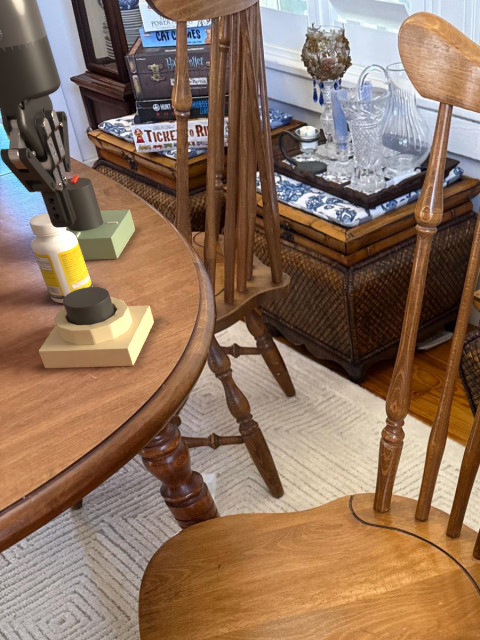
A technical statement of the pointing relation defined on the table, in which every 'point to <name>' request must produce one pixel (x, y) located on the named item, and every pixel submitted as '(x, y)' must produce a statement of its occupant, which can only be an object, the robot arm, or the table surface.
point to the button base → (98, 339)
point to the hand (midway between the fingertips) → (65, 224)
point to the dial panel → (106, 236)
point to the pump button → (88, 306)
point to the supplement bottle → (58, 258)
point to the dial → (84, 204)
